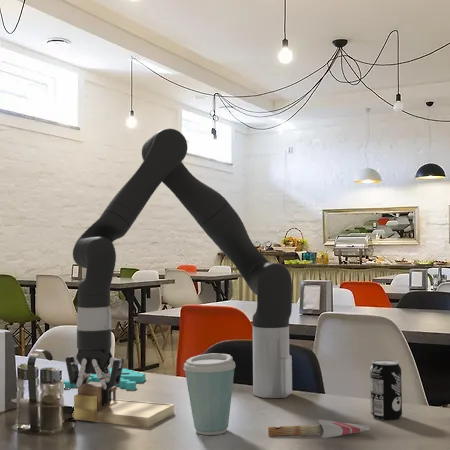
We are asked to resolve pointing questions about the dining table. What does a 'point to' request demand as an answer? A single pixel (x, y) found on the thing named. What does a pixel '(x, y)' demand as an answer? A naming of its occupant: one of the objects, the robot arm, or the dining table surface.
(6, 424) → the dining table surface
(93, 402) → the brown block with handle
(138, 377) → the alien figure
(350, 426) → the paintbrush
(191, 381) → the disposable coffee cup
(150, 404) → the board
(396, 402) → the beverage can
